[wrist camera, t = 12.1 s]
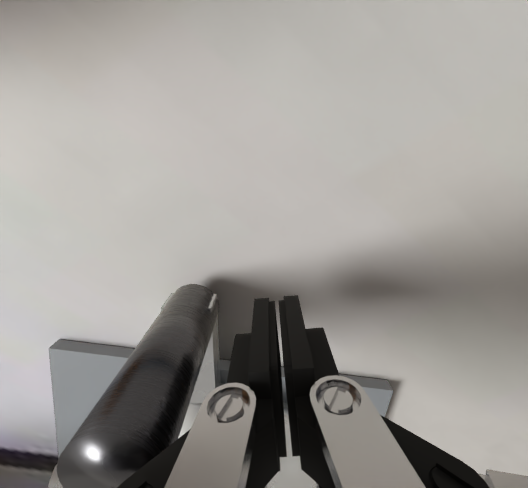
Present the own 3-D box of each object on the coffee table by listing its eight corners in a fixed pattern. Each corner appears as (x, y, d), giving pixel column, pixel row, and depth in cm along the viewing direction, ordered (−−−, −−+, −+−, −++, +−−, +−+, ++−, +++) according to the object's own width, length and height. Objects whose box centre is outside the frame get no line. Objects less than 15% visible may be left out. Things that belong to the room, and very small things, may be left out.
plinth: (387, 379, 16) (393, 390, 16) (323, 579, 22) (325, 594, 21) (59, 339, 16) (48, 348, 15) (75, 554, 21) (68, 569, 20)
